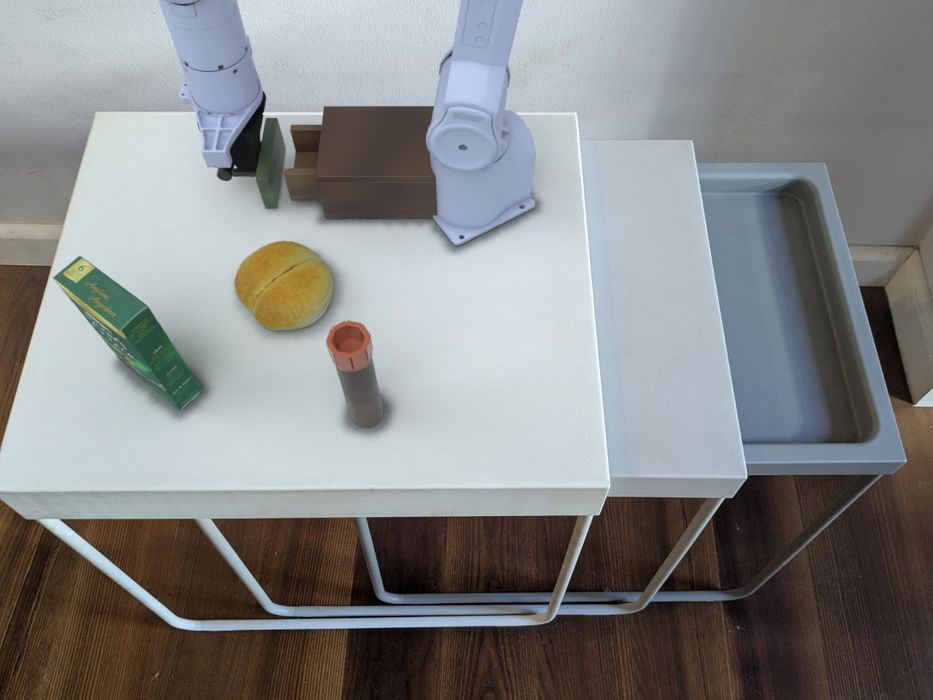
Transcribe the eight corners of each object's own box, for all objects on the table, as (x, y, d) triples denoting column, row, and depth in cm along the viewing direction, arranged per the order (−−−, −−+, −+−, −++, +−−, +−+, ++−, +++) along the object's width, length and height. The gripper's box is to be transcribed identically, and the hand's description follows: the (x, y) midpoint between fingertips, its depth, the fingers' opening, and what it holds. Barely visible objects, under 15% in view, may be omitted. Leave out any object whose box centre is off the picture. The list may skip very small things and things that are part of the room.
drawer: (222, 209, 75) (209, 178, 71) (233, 149, 79) (222, 117, 75) (373, 208, 75) (368, 178, 72) (377, 149, 79) (372, 117, 75)
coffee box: (117, 362, 68) (47, 275, 56) (142, 339, 69) (79, 250, 57) (179, 413, 65) (119, 334, 54) (204, 390, 66) (151, 306, 55)
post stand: (373, 392, 66) (359, 331, 57) (389, 417, 65) (378, 359, 56) (344, 408, 66) (326, 349, 57) (360, 434, 64) (344, 377, 56)
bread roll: (280, 350, 68) (270, 327, 65) (226, 287, 72) (214, 261, 68) (355, 300, 71) (349, 275, 68) (299, 240, 74) (291, 214, 71)
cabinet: (325, 219, 76) (315, 176, 70) (332, 151, 80) (323, 105, 75) (443, 219, 76) (442, 176, 71) (444, 150, 80) (443, 105, 75)
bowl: (360, 330, 58) (356, 314, 56) (380, 359, 56) (377, 344, 54) (324, 348, 57) (319, 333, 55) (343, 379, 56) (339, 364, 54)
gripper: (179, -9, 67) (218, 110, 79) (146, 110, 60) (195, 222, 72) (261, -8, 67) (288, 111, 79) (238, 111, 60) (271, 222, 72)
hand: (248, 164), depth 75 cm, fingers closed, pressing on drawer
